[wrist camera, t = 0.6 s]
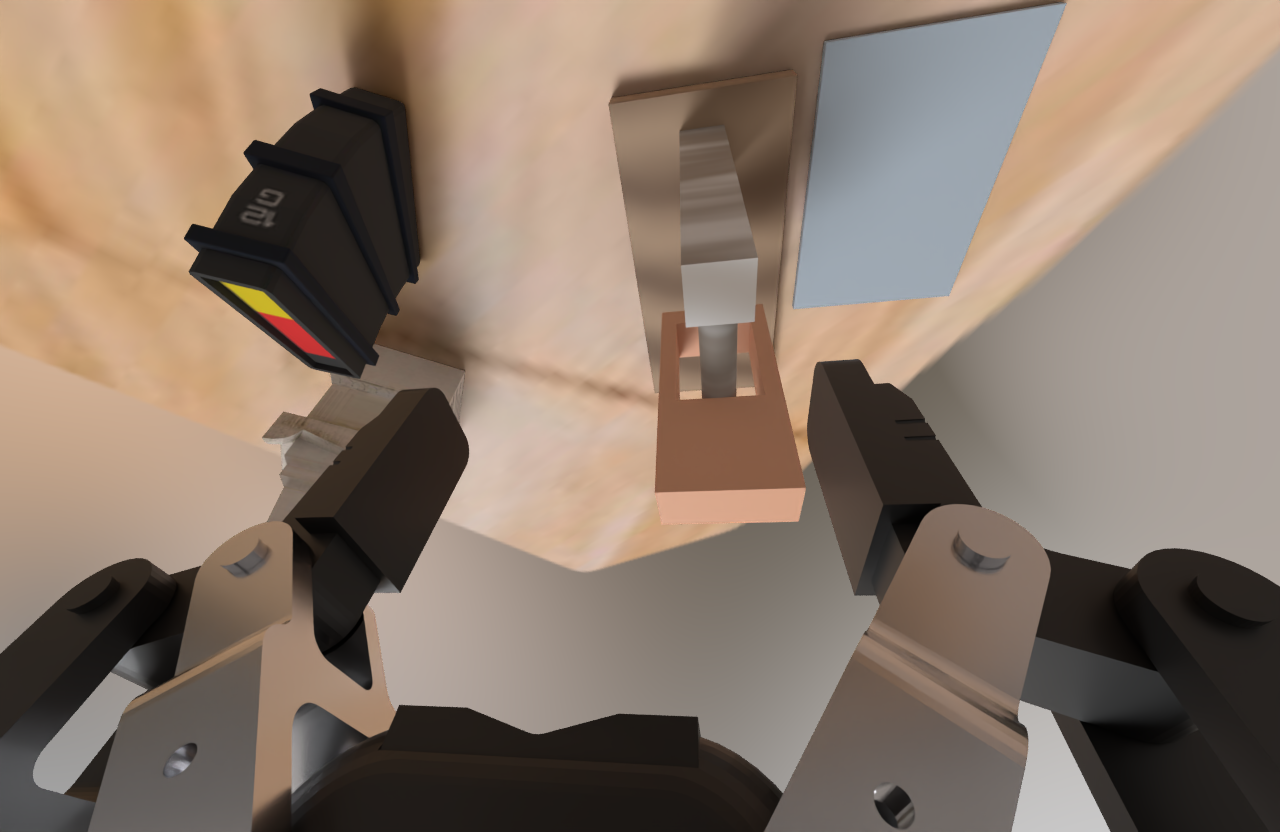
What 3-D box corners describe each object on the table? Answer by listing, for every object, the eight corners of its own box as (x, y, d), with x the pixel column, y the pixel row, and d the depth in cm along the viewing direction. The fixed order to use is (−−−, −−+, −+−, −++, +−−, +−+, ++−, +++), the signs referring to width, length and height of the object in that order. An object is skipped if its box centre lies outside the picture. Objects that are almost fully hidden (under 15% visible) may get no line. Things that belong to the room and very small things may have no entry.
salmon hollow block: (662, 312, 26) (654, 492, 17) (762, 303, 25) (805, 487, 17) (666, 346, 27) (661, 524, 19) (760, 338, 27) (798, 521, 18)
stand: (611, 97, 26) (558, 226, 14) (792, 69, 24) (895, 186, 13) (655, 381, 41) (647, 552, 30) (766, 374, 40) (803, 550, 29)
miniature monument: (461, 436, 49) (305, 795, 28) (358, 408, 47) (107, 778, 26) (470, 369, 42) (270, 787, 21) (349, 332, 39) (-9, 762, 19)
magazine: (393, 39, 23) (271, 286, 18) (444, 216, 35) (379, 391, 31) (314, 13, 22) (168, 262, 18) (394, 202, 35) (320, 378, 30)
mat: (823, 40, 23) (826, 42, 23) (1060, 2, 22) (1066, 3, 22) (792, 305, 35) (793, 309, 34) (946, 292, 33) (948, 295, 33)
